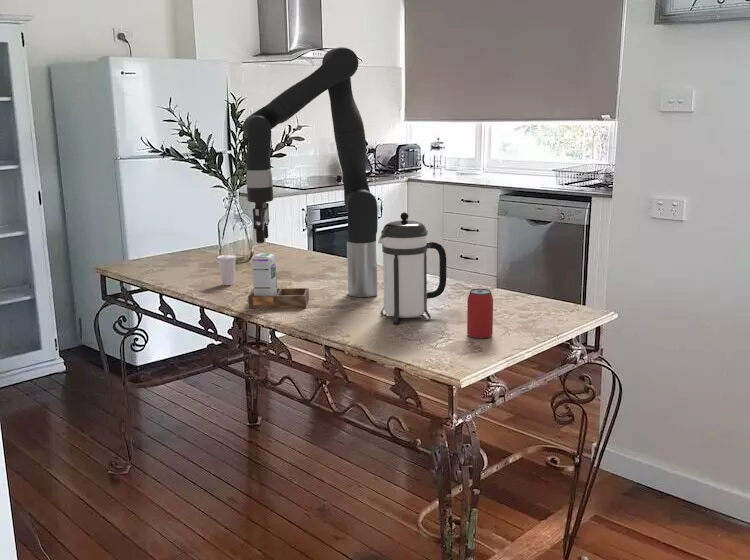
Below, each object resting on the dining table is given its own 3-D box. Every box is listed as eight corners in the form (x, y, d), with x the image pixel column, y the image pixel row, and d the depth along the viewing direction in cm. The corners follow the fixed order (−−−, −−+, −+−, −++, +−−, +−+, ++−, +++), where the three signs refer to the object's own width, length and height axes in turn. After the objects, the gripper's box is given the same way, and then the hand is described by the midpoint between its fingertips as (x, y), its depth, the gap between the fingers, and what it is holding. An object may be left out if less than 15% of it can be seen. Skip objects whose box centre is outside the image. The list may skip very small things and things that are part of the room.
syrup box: (272, 304, 228) (270, 257, 224) (253, 303, 229) (251, 256, 225) (278, 299, 233) (275, 253, 230) (259, 299, 234) (256, 252, 231)
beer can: (491, 331, 201) (491, 287, 198) (493, 339, 194) (494, 294, 192) (466, 331, 201) (466, 287, 198) (468, 339, 195) (468, 294, 192)
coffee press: (421, 328, 205) (420, 218, 197) (369, 321, 212) (367, 214, 205) (447, 312, 219) (447, 209, 212) (397, 306, 227) (396, 206, 220)
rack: (309, 299, 235) (308, 287, 235) (305, 308, 226) (305, 295, 225) (254, 300, 236) (253, 288, 235) (248, 308, 227) (247, 296, 226)
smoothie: (217, 287, 254) (214, 245, 250) (220, 282, 260) (217, 242, 257) (236, 286, 254) (233, 245, 250) (239, 282, 260) (236, 241, 257)
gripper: (268, 187, 216) (271, 245, 219) (275, 182, 230) (278, 236, 233) (242, 188, 216) (245, 245, 220) (251, 182, 230) (254, 236, 234)
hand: (262, 240), depth 227 cm, fingers open, 7 cm apart
